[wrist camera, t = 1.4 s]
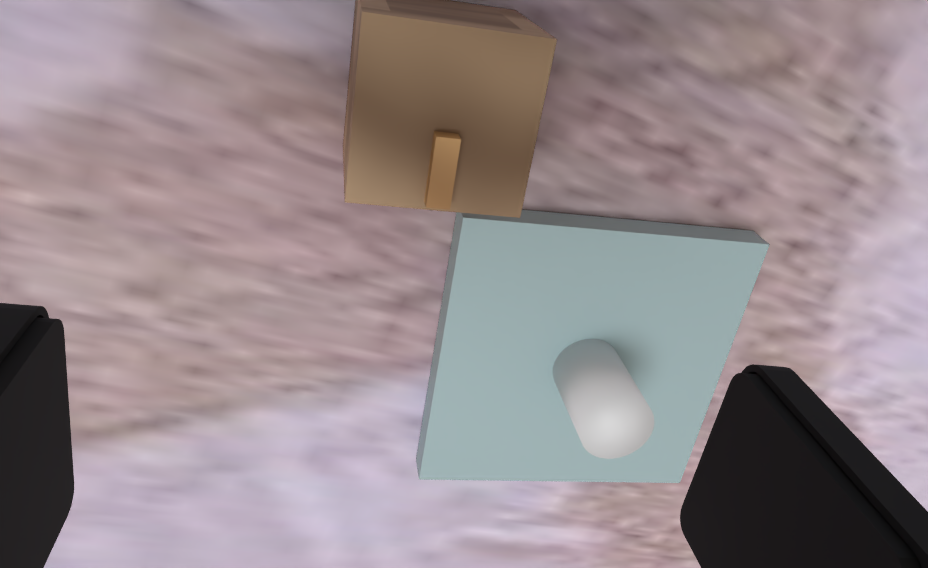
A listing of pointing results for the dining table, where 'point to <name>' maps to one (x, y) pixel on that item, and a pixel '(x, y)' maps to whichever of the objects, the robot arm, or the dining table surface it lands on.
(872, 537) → the robot arm
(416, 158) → the light brown wooden cube
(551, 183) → the dining table surface
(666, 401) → the shaft base
